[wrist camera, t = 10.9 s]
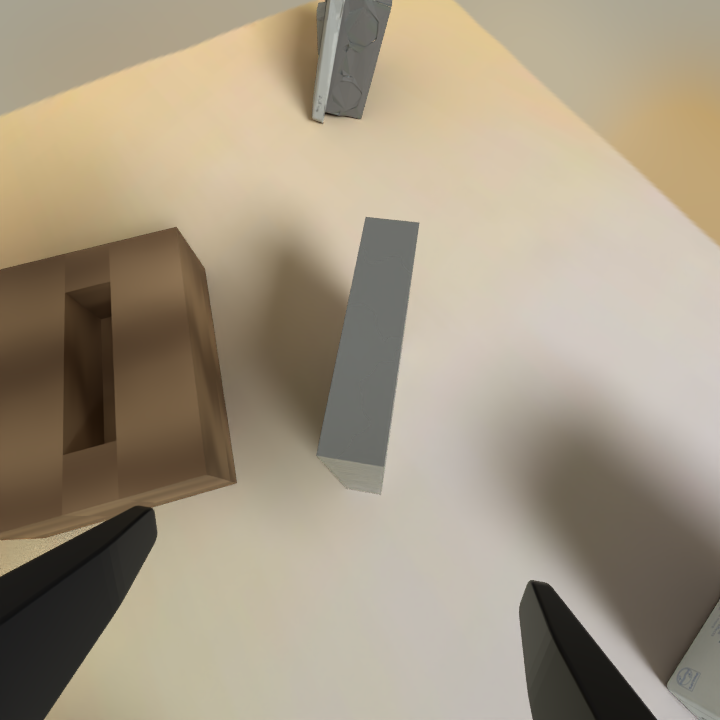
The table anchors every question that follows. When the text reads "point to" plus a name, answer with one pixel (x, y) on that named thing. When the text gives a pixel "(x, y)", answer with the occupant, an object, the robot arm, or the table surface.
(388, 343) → the gray rectangular metal block
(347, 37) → the electrical switch
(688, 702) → the light bulb box
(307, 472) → the table surface
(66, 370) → the walnut slot box
